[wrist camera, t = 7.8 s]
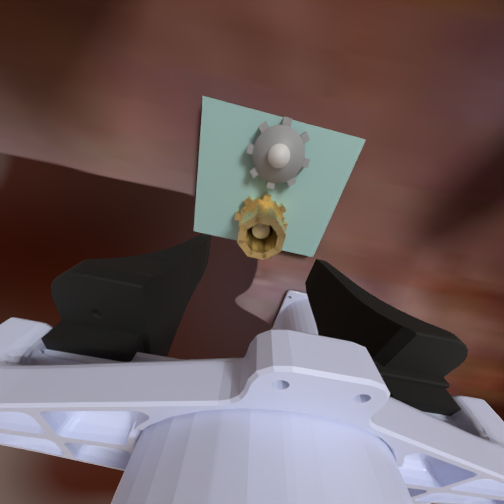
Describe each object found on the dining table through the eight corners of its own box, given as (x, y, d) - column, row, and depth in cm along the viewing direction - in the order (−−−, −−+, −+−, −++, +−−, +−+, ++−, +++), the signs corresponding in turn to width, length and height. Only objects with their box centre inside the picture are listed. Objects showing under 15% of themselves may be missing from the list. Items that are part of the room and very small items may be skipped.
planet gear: (278, 246, 21) (283, 271, 17) (232, 236, 21) (224, 259, 16) (293, 199, 18) (303, 214, 14) (240, 187, 18) (234, 199, 14)
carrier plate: (310, 252, 22) (320, 271, 19) (196, 227, 21) (183, 243, 18) (360, 140, 17) (386, 137, 13) (206, 98, 16) (190, 84, 12)
